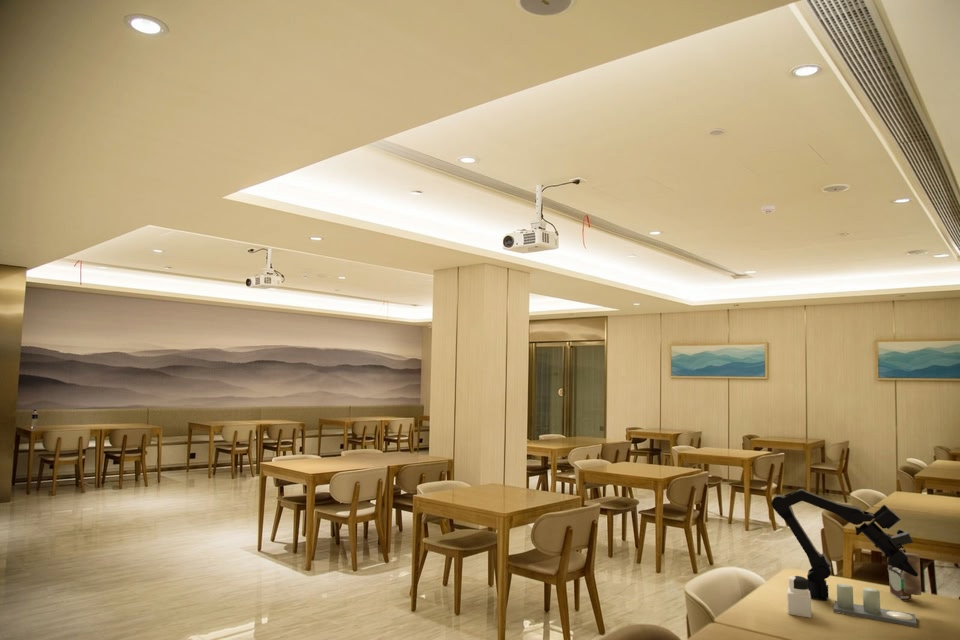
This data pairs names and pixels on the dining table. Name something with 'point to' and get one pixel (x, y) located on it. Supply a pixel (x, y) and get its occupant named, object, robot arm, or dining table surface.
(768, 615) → the dining table surface
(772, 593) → the dining table surface
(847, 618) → the dining table surface
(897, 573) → the food container
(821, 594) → the robot arm
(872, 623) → the dining table surface
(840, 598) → the sage posts
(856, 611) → the slate board
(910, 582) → the walnut post
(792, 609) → the medicine bottle
